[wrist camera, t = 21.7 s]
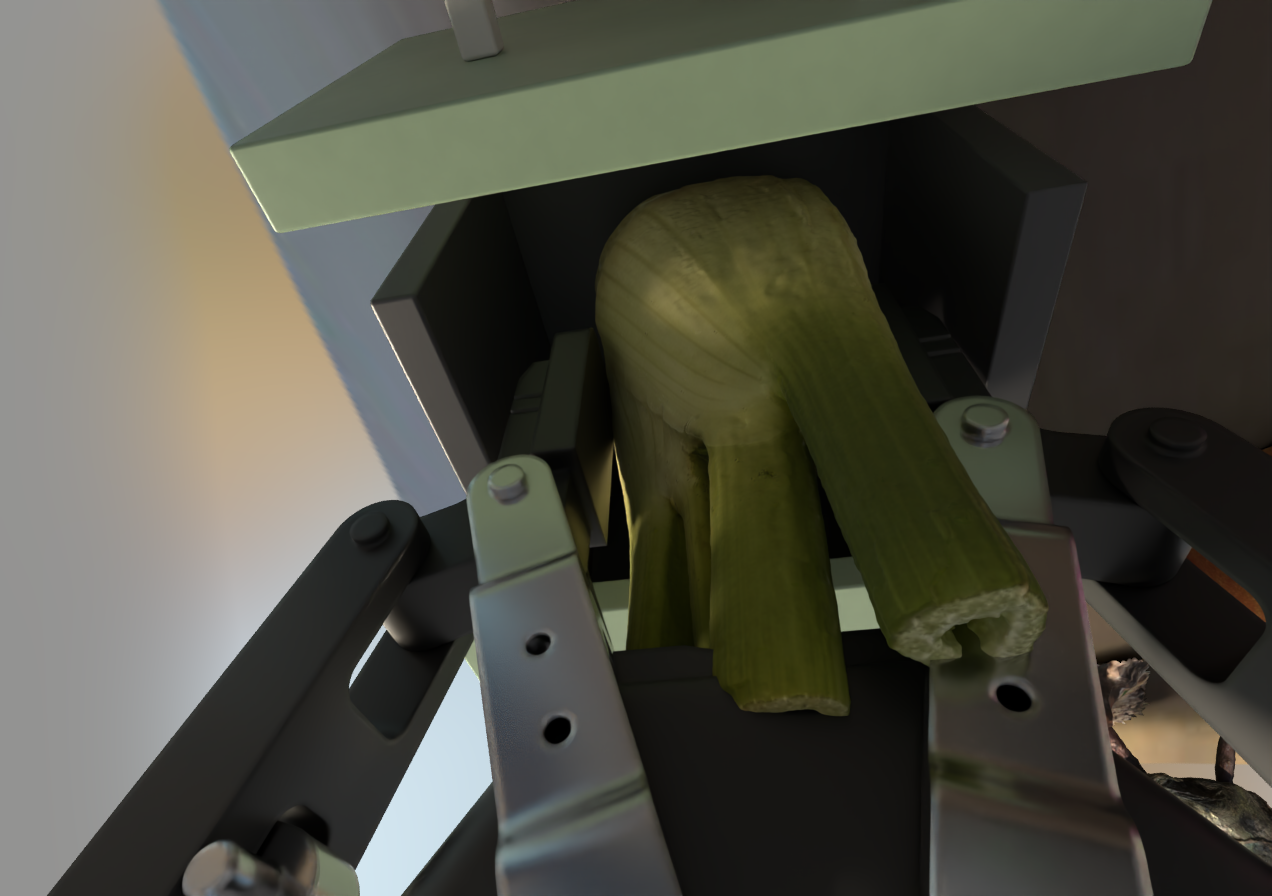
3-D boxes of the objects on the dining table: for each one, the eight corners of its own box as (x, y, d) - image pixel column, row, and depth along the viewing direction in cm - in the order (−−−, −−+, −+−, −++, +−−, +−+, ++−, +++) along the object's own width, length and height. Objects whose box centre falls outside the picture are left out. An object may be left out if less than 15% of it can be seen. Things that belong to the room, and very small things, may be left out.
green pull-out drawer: (261, -343, 11) (-212, -619, 5) (1022, -583, 9) (1701, -1433, 3) (564, 494, 24) (536, 696, 18) (901, 454, 22) (992, 661, 16)
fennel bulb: (780, 93, 13) (1076, 572, 4) (860, 284, 16) (1144, 826, 7) (548, 237, 15) (398, 767, 6) (655, 384, 18) (661, 900, 9)
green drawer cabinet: (512, 373, 21) (441, 625, 14) (927, 312, 19) (1090, 564, 12) (610, 635, 31) (598, 861, 24) (888, 610, 30) (966, 845, 22)
